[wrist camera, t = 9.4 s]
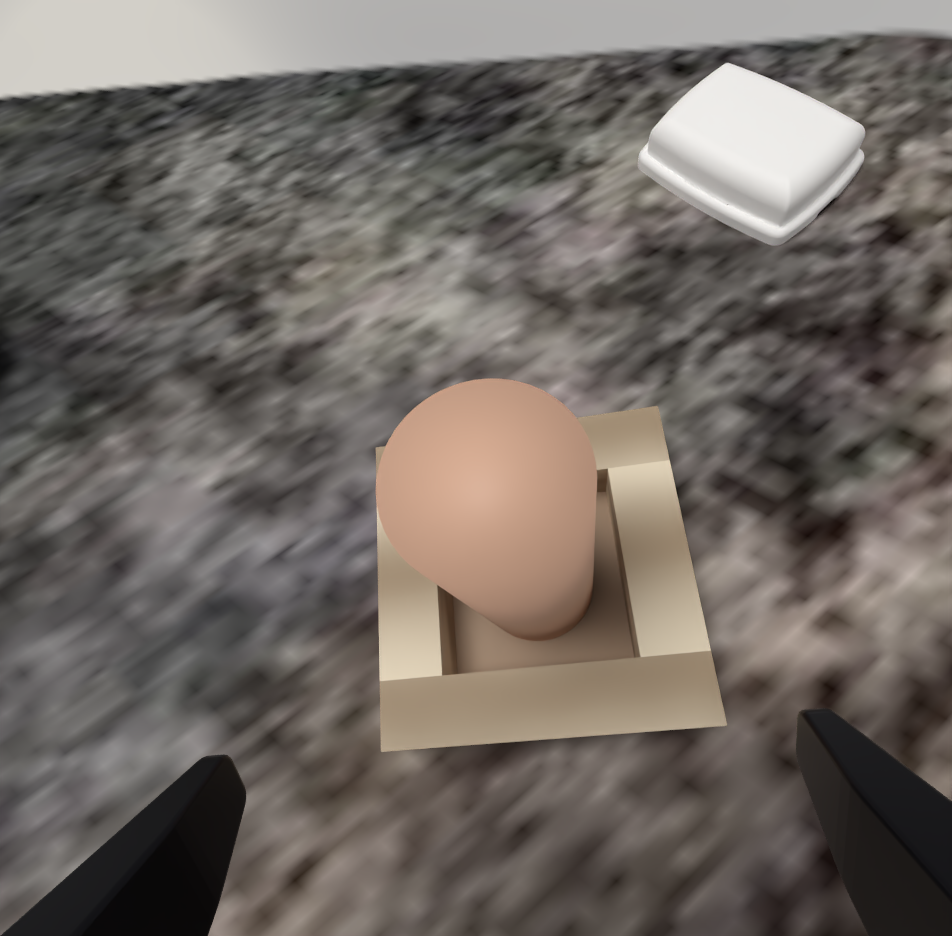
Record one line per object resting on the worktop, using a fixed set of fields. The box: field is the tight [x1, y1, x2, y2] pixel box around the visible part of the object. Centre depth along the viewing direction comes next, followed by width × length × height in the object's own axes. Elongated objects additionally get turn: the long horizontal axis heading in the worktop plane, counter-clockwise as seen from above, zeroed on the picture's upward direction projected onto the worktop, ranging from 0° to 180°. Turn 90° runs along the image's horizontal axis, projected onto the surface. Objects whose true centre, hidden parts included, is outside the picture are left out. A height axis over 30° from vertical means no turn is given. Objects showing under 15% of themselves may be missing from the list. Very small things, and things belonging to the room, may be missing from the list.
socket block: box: [376, 406, 727, 752], centre depth 22 cm, size 11×11×3 cm
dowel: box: [376, 379, 597, 641], centre depth 17 cm, size 4×4×12 cm
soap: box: [638, 63, 865, 245], centre depth 28 cm, size 9×7×3 cm
